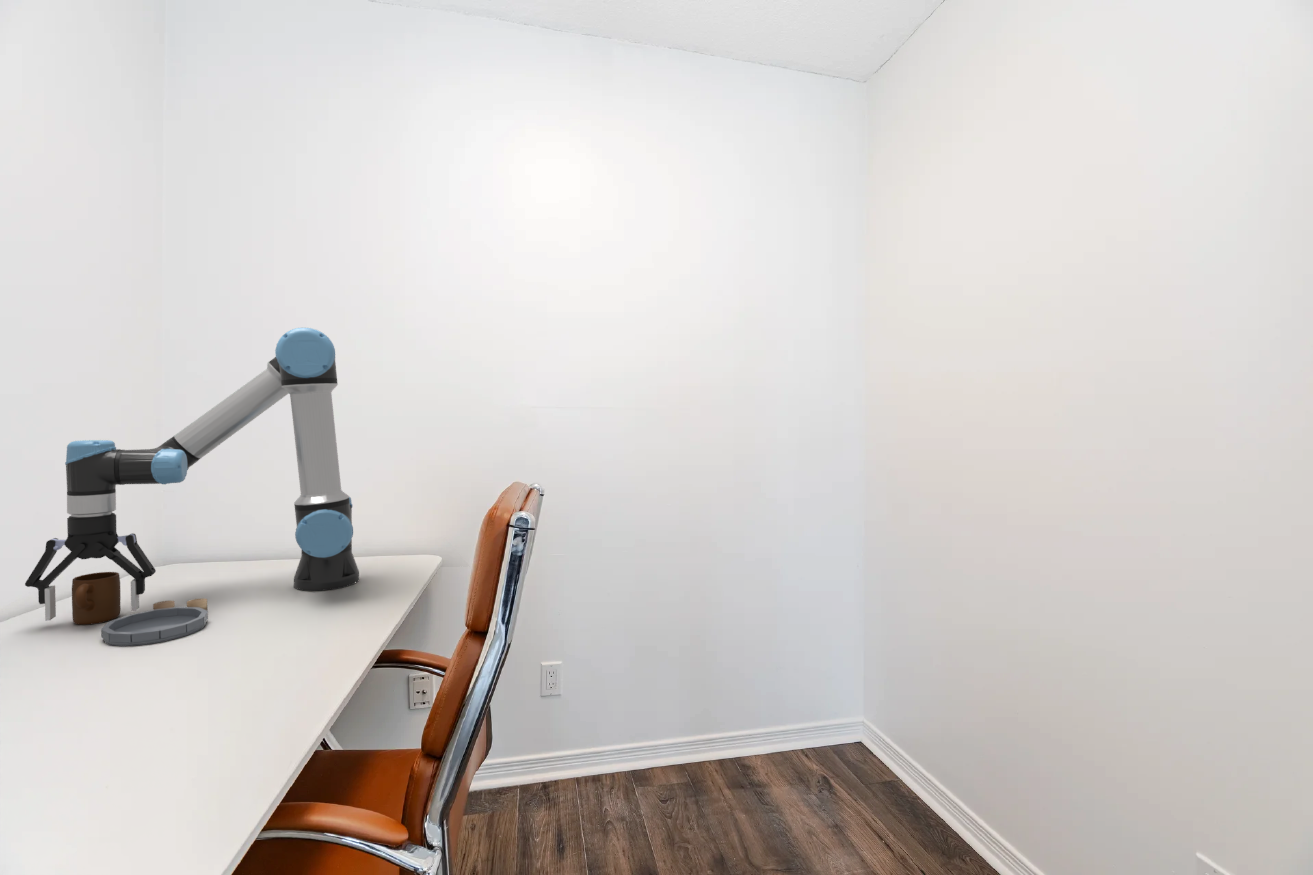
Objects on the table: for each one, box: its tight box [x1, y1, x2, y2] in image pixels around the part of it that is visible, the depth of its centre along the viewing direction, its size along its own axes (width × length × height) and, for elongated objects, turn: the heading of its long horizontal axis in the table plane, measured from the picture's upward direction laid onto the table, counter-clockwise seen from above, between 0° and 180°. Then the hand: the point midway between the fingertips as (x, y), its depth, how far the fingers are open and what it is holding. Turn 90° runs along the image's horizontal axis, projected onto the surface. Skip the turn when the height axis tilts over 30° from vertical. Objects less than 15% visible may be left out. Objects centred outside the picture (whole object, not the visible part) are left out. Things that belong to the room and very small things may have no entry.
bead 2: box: [186, 597, 208, 611], centre depth 134 cm, size 4×4×3 cm
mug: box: [71, 571, 122, 626], centre depth 127 cm, size 12×8×9 cm, turn 24°
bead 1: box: [152, 600, 176, 610], centre depth 132 cm, size 4×4×3 cm
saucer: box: [100, 606, 209, 647], centre depth 123 cm, size 16×16×2 cm
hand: (94, 614), depth 127 cm, fingers open, 13 cm apart
